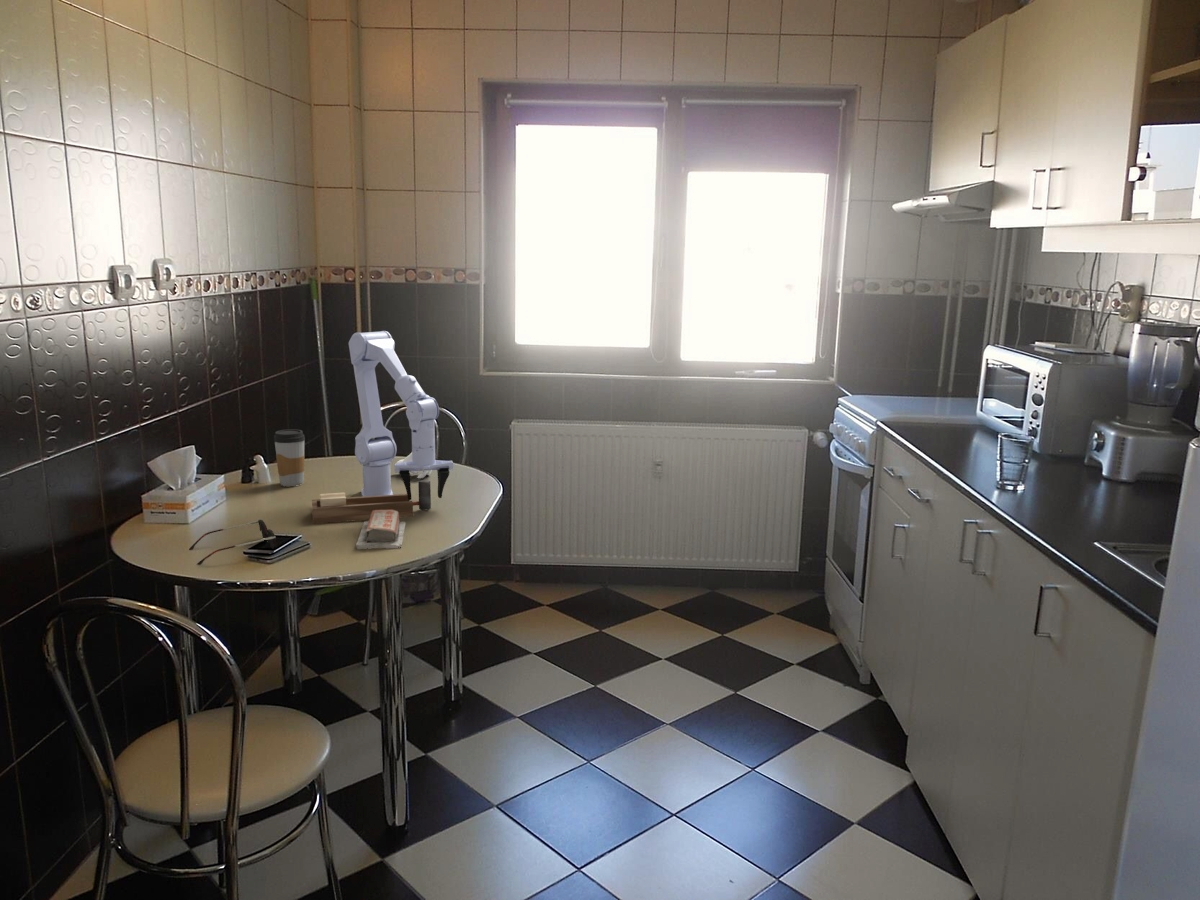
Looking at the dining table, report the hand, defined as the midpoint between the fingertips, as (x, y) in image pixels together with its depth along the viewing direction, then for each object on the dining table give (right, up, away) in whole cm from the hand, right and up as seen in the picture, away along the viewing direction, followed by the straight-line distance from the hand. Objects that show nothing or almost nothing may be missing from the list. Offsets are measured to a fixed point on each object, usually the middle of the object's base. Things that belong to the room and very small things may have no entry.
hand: (424, 497), depth 230 cm
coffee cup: (-42, +2, +23) cm, 48 cm away
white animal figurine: (-10, +4, +35) cm, 36 cm away
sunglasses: (-36, -10, -33) cm, 50 cm away
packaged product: (-6, -9, -21) cm, 23 cm away
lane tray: (-15, -4, -4) cm, 16 cm away
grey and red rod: (-11, -3, -3) cm, 12 cm away
